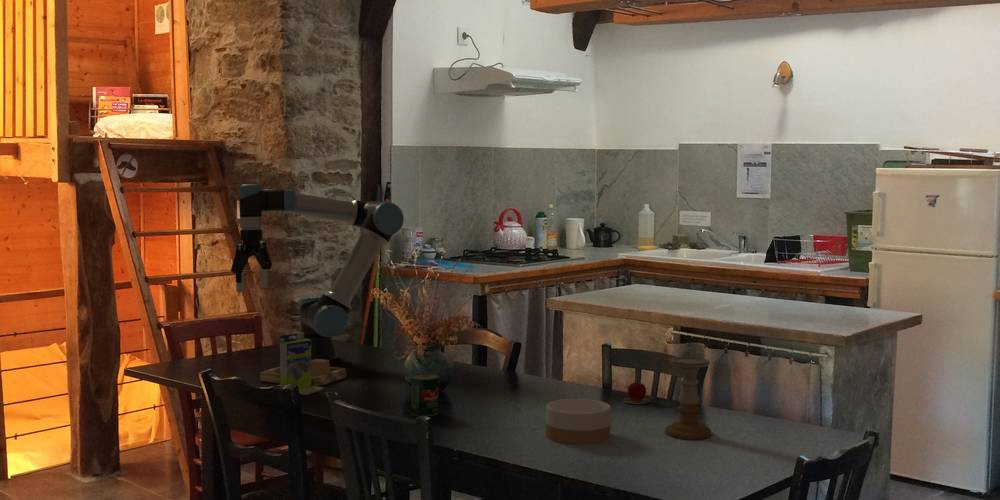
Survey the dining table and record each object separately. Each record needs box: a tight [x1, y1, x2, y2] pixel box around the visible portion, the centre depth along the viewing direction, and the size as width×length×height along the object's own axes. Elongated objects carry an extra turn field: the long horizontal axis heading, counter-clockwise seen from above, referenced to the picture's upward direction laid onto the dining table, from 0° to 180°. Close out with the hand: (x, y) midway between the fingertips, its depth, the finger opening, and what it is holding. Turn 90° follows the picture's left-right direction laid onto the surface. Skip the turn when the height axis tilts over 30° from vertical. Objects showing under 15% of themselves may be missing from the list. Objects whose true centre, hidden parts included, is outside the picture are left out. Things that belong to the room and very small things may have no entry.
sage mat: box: [277, 384, 324, 396], centre depth 330 cm, size 9×15×1 cm, turn 65°
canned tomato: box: [410, 373, 439, 417], centre depth 298 cm, size 8×8×11 cm
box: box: [279, 332, 311, 388], centre depth 329 cm, size 10×4×17 cm, turn 142°
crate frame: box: [259, 366, 347, 387], centre depth 346 cm, size 18×22×3 cm
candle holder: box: [664, 356, 712, 440], centre depth 276 cm, size 12×12×20 cm
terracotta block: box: [311, 359, 330, 377], centre depth 343 cm, size 4×5×7 cm
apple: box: [623, 382, 650, 405], centre depth 314 cm, size 8×8×6 cm
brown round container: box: [545, 398, 612, 446], centre depth 274 cm, size 17×17×8 cm
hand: (252, 290), depth 357 cm, fingers open, 13 cm apart
